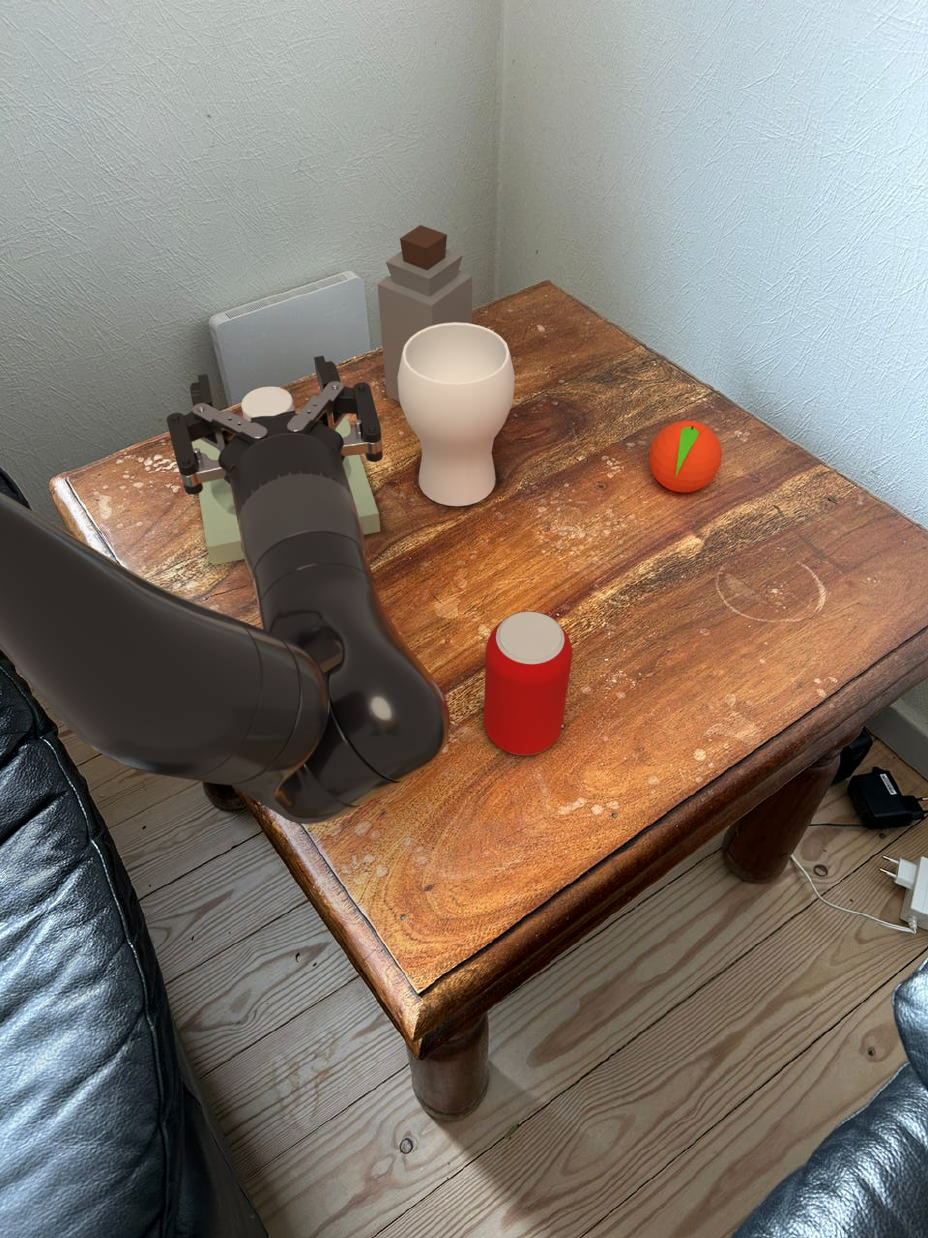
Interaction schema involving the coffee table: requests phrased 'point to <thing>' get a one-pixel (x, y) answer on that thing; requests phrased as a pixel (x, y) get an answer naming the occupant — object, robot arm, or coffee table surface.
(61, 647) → the robot arm
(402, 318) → the perfume bottle
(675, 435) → the clementine
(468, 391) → the cup
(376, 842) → the coffee table surface
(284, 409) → the pill bottle
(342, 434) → the hole plate
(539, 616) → the beverage can
